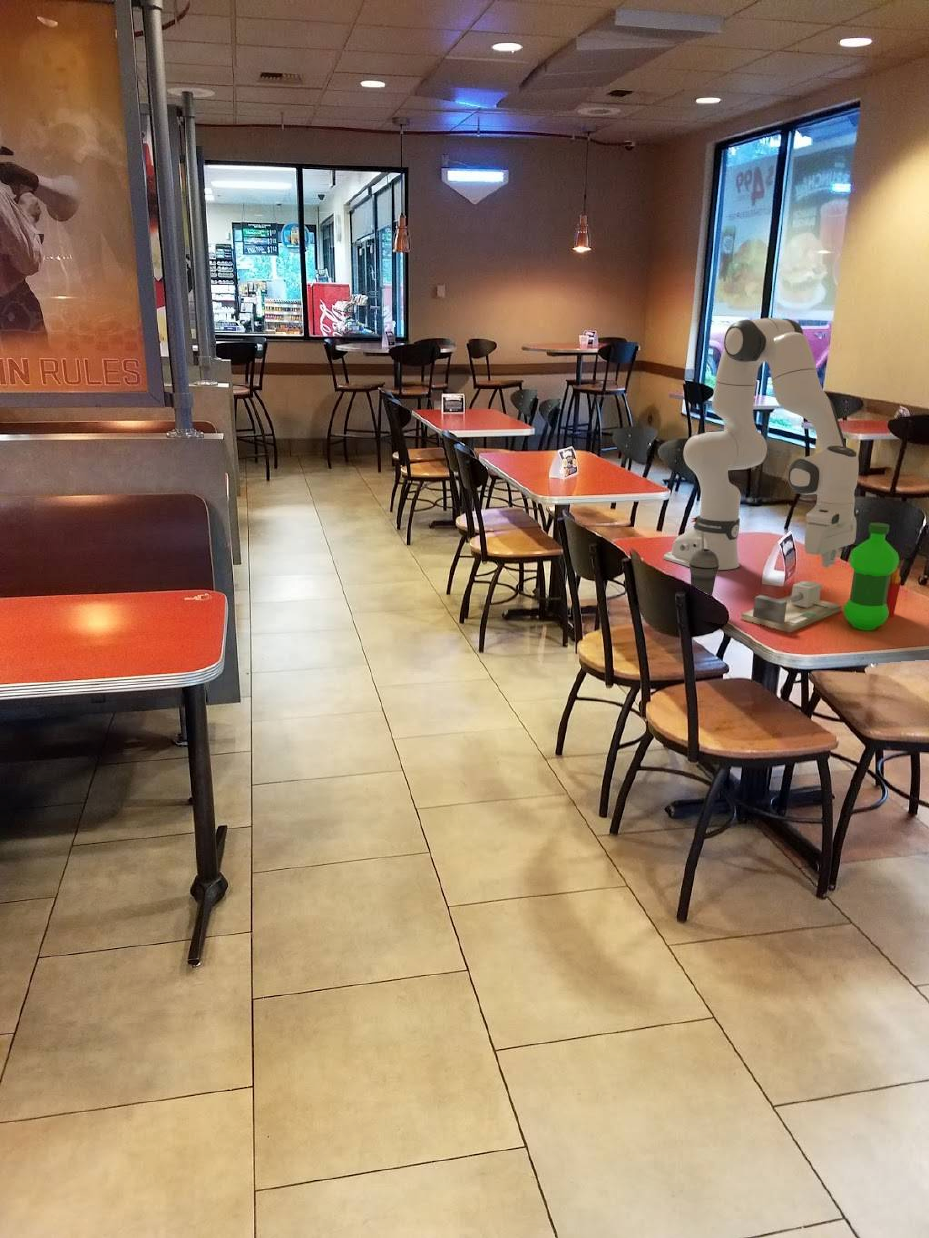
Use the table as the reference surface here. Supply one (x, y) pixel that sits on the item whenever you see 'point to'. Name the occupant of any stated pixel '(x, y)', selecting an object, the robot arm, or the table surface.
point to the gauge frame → (787, 613)
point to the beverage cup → (704, 569)
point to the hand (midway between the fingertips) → (827, 566)
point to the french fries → (893, 592)
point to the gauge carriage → (806, 594)
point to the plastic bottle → (871, 579)
